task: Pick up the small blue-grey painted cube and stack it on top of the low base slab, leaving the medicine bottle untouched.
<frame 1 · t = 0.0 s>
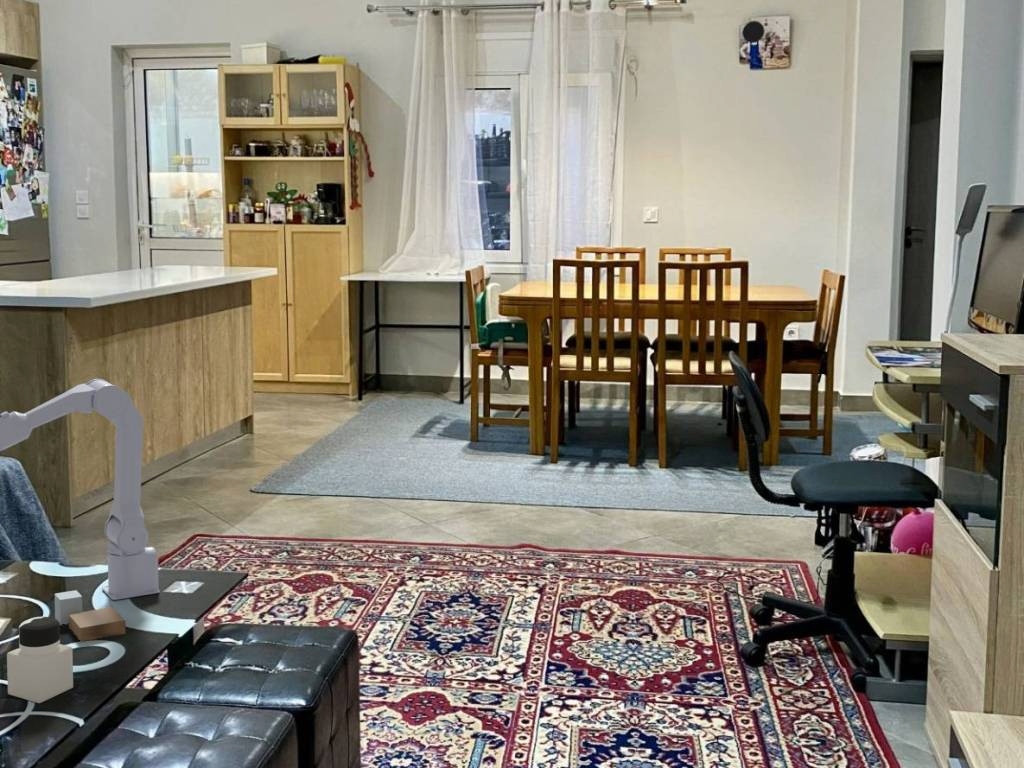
base slab: (97, 632, 207), on the table
cube: (68, 620, 212), on the table
medicine bottle: (40, 692, 181), on the table
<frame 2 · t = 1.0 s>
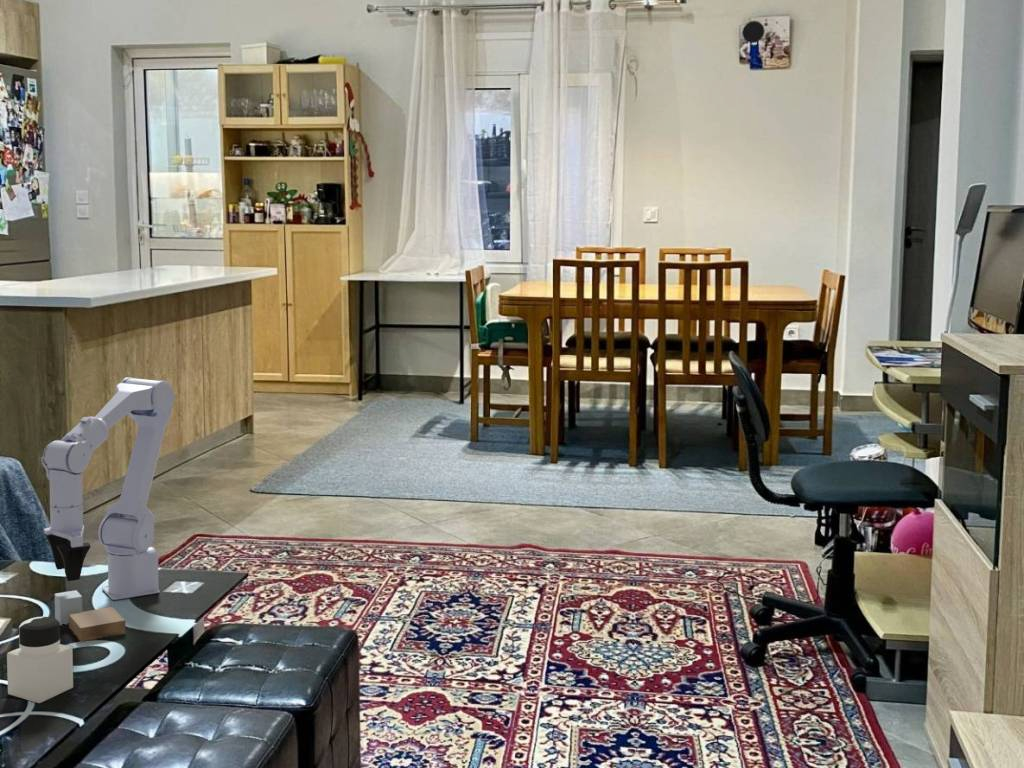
hand: (67, 574, 210), 9 cm above the table, tool pointing down, fingers open, 7 cm apart
nothing on the table moved.
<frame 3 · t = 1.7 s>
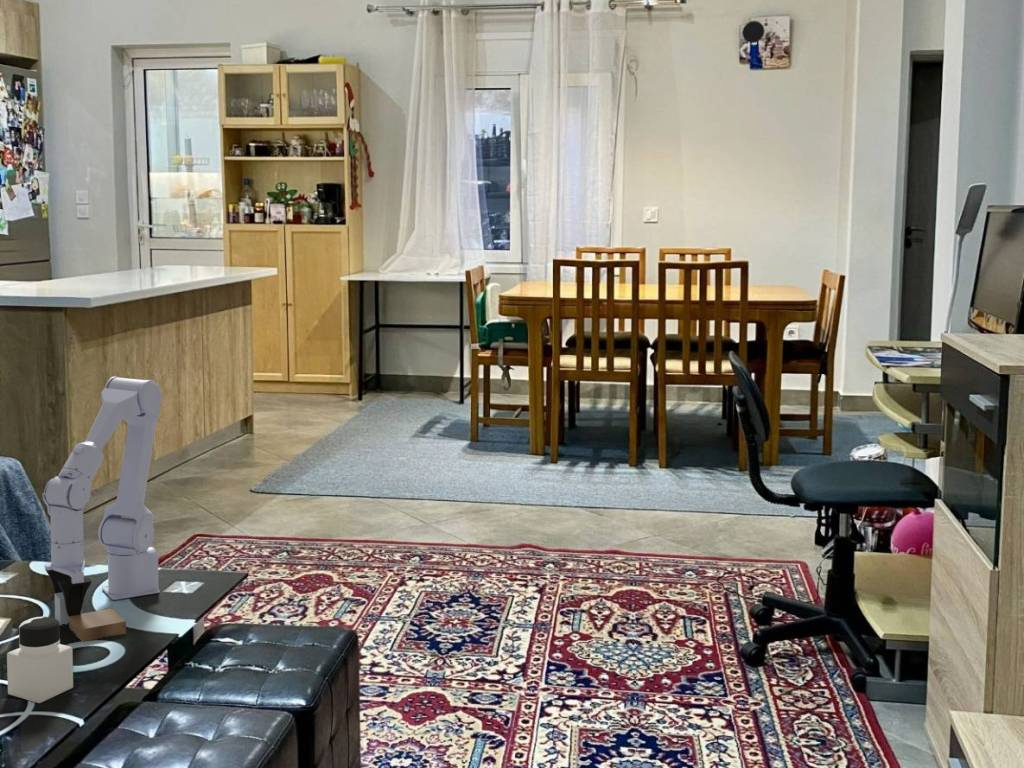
hand: (68, 609, 211), 2 cm above the table, tool pointing down, fingers open, 7 cm apart
base slab: (97, 634, 207), on the table, touching gripper
everything else where it was.
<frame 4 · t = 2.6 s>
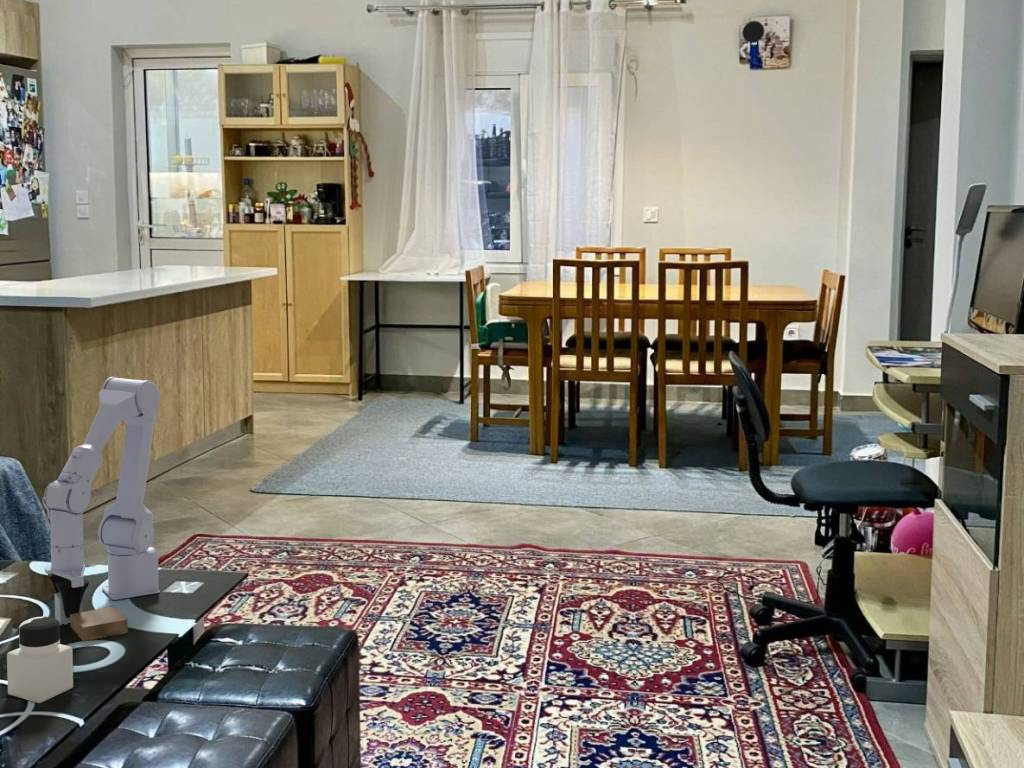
hand: (68, 612, 211), 1 cm above the table, tool pointing down, fingers closed on cube, 4 cm apart
base slab: (98, 632, 207), on the table
cube: (68, 619, 212), on the table, touching gripper
everything else where it was.
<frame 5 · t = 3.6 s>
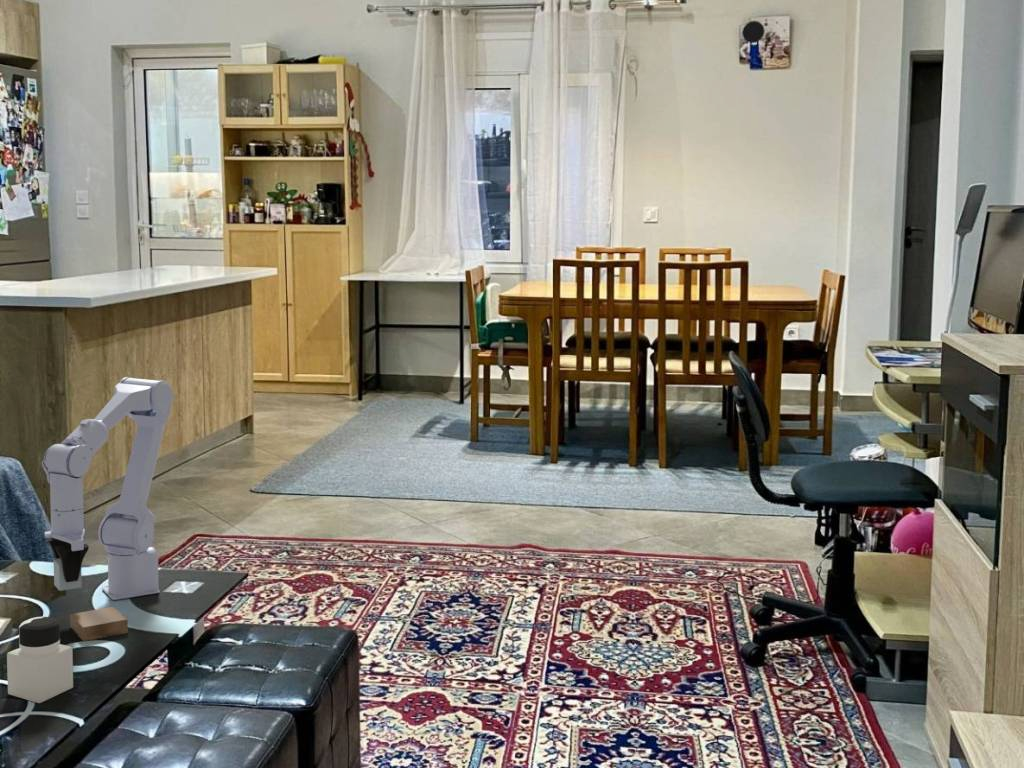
hand: (68, 577, 210), 8 cm above the table, tool pointing down, fingers closed on cube, 4 cm apart
cube: (67, 585, 210), point 7 cm above the table, touching gripper
everything else where it was.
when the fingers open (5 cm above the table, at t = 5.0 s): cube drops 1 cm, resting on base slab.
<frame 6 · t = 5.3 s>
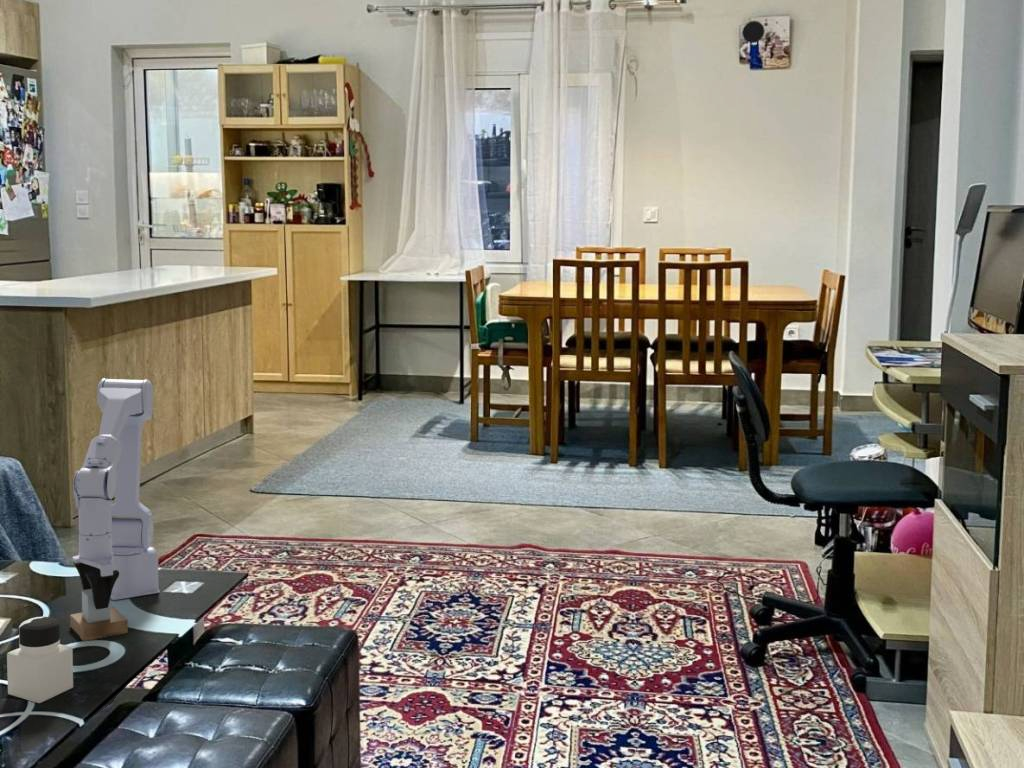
hand: (96, 602, 206), 5 cm above the table, tool pointing down, fingers open, 6 cm apart
base slab: (99, 632, 207), on the table, touching cube
cube: (96, 617, 207), point 3 cm above the table, touching base slab
everything else where it was.
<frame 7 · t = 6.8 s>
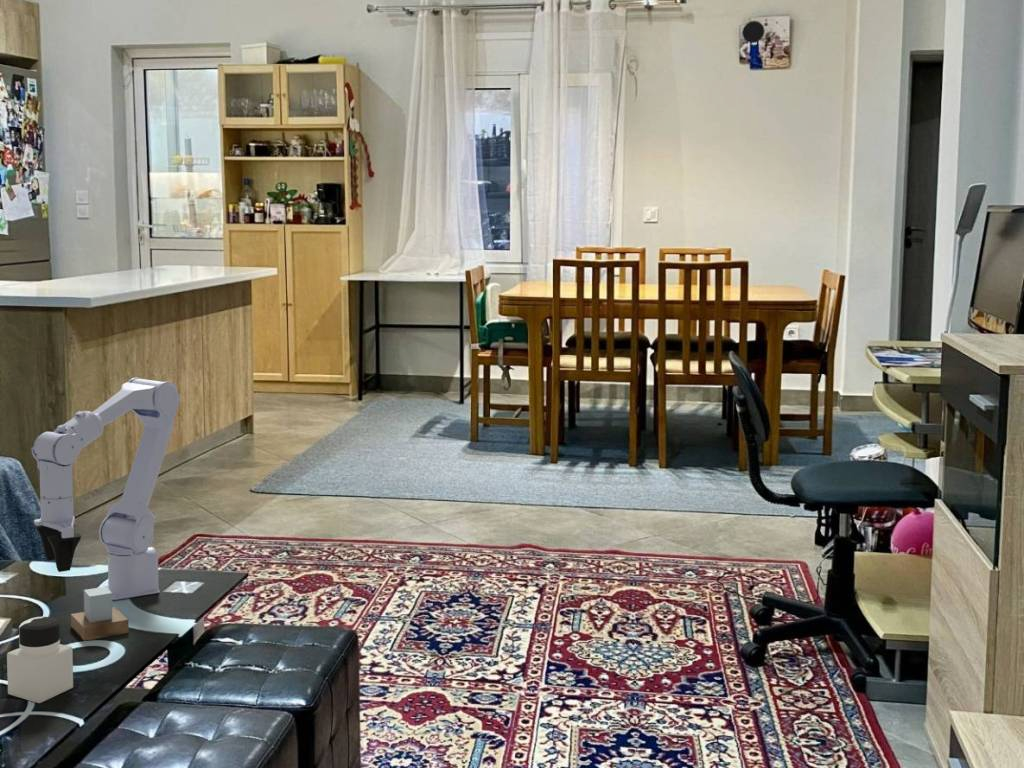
hand: (58, 565, 211), 10 cm above the table, tool pointing down, fingers open, 7 cm apart
nothing on the table moved.
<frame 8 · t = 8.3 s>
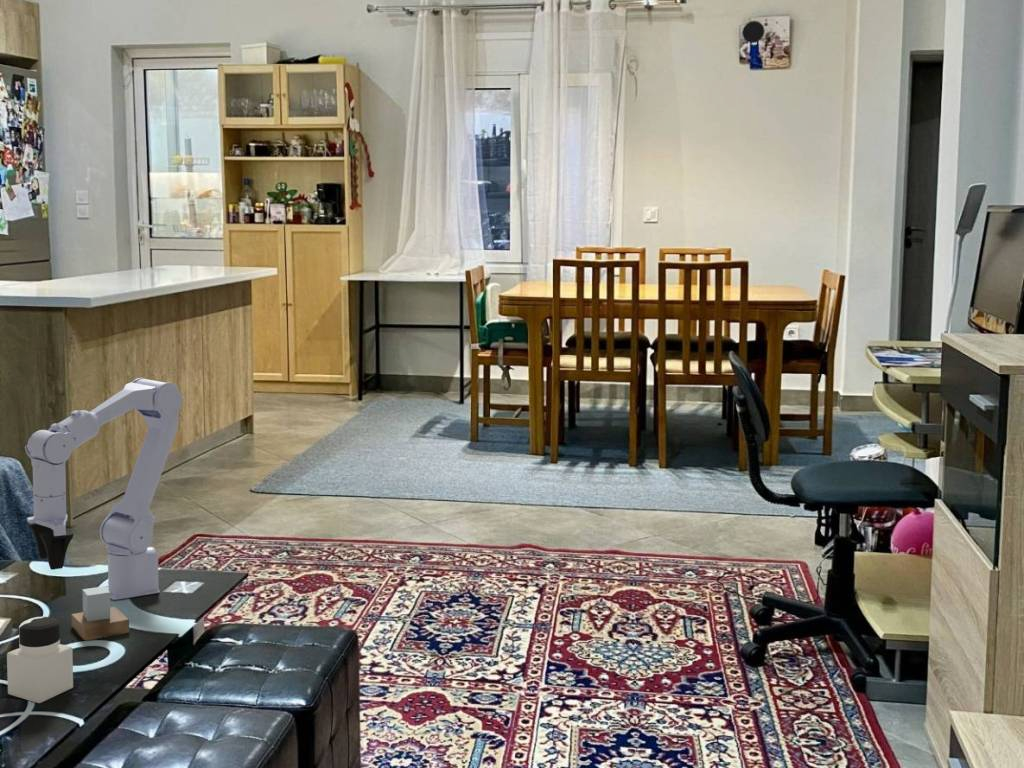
hand: (51, 562, 212), 10 cm above the table, tool pointing down, fingers open, 7 cm apart
nothing on the table moved.
at the end: cube inside the target area on the base slab (0.6 cm from its centre), point 3.0 cm above the base slab's base; cube tilted 1°; the gripper is holding nothing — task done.
